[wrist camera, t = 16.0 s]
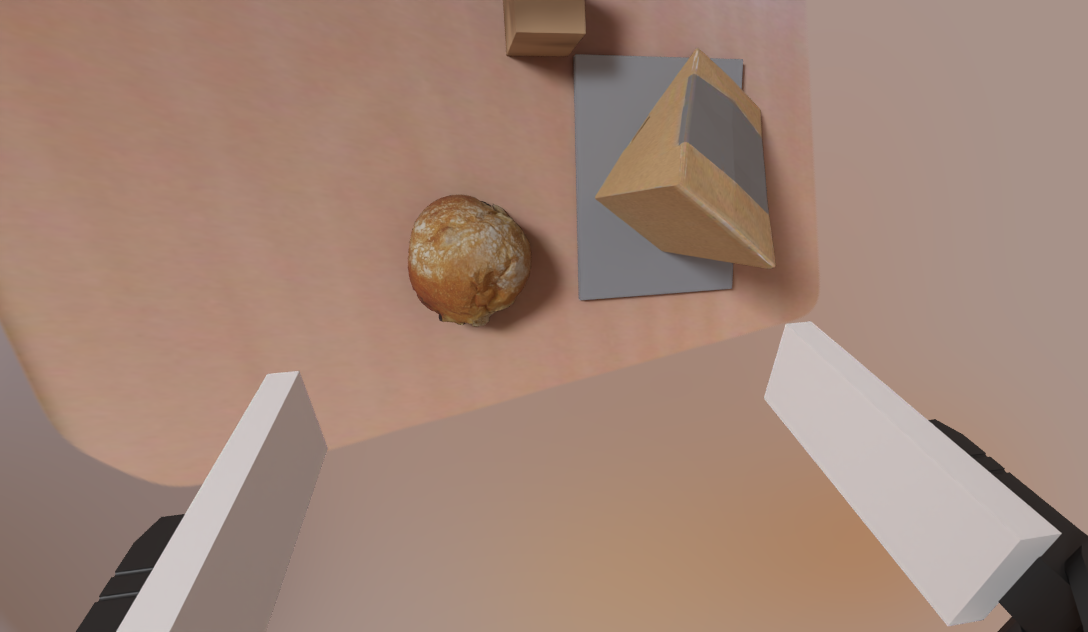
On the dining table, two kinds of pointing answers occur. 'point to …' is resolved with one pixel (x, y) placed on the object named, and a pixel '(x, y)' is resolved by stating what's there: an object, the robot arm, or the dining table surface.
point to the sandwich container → (697, 172)
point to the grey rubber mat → (600, 138)
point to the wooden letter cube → (543, 26)
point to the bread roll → (467, 259)
